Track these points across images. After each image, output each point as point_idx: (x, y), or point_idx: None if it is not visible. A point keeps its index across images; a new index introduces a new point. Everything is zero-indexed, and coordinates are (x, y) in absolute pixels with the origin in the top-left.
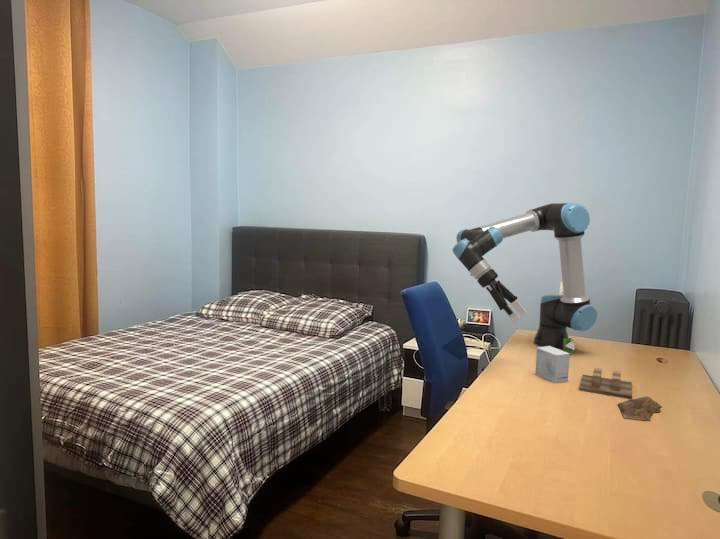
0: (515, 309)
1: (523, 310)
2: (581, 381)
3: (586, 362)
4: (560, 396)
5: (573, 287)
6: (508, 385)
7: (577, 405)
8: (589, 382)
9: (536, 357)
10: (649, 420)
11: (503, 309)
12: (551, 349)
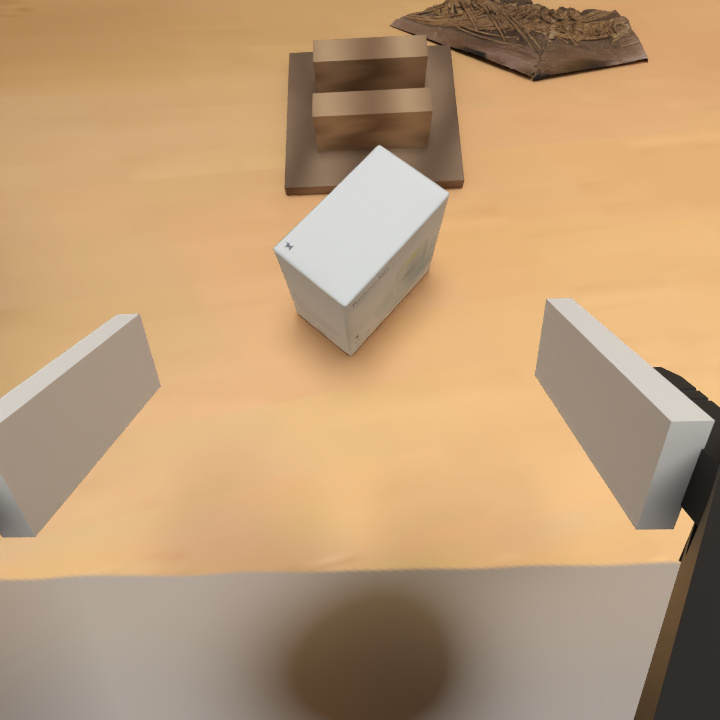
0: (101, 452)
1: (116, 349)
2: None
3: (59, 204)
4: (578, 229)
5: None
6: None
7: (631, 173)
8: None
9: (350, 326)
10: (616, 11)
11: (668, 517)
12: (355, 227)
